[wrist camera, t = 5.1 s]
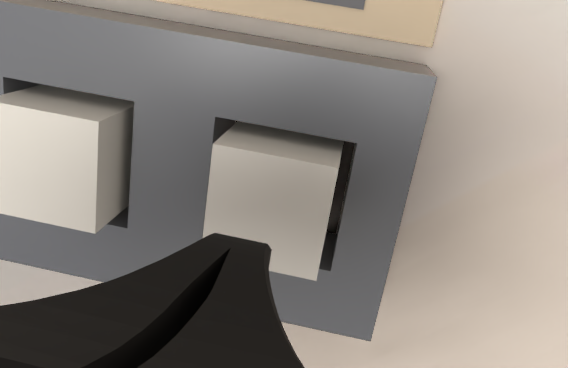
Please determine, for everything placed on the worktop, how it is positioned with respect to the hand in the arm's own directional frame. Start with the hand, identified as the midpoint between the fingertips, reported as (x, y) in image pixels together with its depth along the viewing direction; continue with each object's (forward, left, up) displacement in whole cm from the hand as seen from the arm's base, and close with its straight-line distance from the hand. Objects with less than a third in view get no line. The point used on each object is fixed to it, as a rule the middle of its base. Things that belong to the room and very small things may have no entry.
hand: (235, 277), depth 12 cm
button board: (0, +7, -8) cm, 11 cm away
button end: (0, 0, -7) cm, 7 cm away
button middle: (0, +7, -7) cm, 10 cm away
